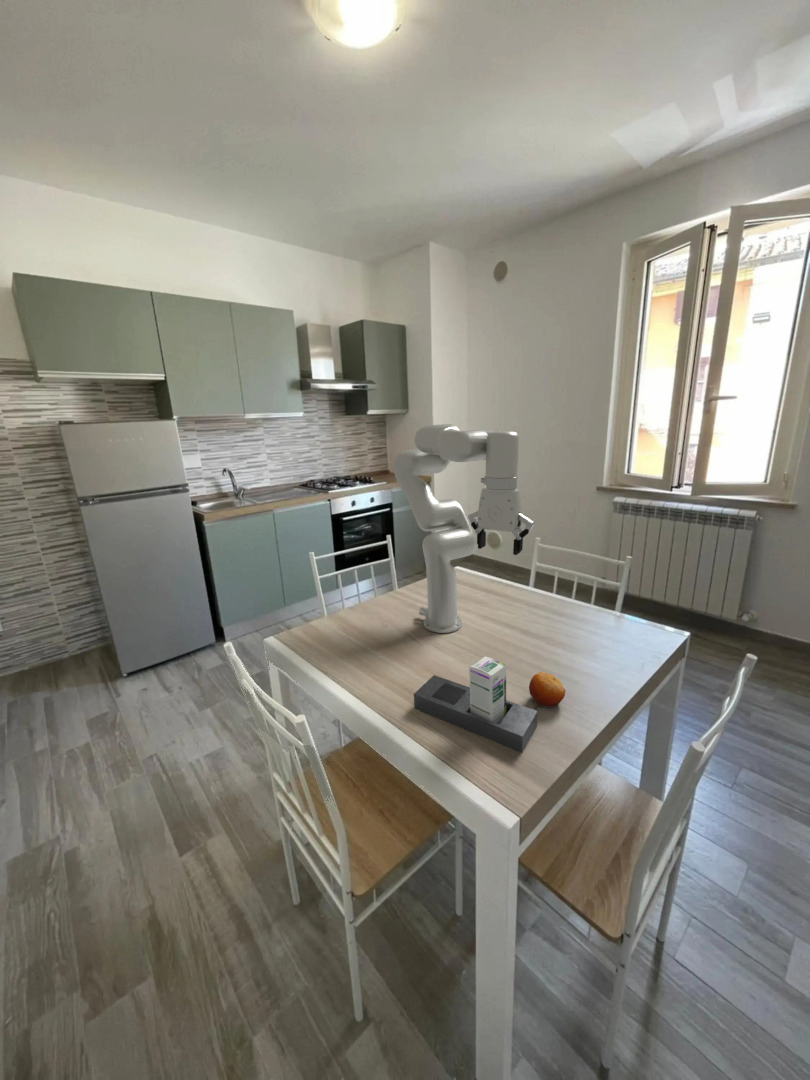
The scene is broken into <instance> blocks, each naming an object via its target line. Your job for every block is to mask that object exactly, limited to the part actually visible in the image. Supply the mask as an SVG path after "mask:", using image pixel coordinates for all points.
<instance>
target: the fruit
mask: <svg viewBox="0 0 810 1080" xmlns="http://www.w3.org/2000/svg"><path fill="white" fill-rule="evenodd" d="M528 691H529V695H530V697H531V698H532V700H533V702H534V704H535V706H534V708H535V709H536V708H537V707H538V706H541V707H546V708H551V707H552V708H553V707H557V706H558V705H559V704H561V702H562V701H563V700H564V698H565V694H566V687H564V685H563V682H561V681H560V679H559V678H557V677H555V676H554V675H552V674H550V673H547V672H542V671H539V672H537V673H536V674H534V675H533V676H532V677H531V679H530V681H529V685H528Z"/></svg>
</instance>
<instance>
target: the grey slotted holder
mask: <svg viewBox="0 0 810 1080" xmlns="http://www.w3.org/2000/svg"><path fill="white" fill-rule="evenodd" d="M413 702H414V703H413V704H414V705H413V707H414V710H416V711H419V712H421V713H424V714H427V715H429V716H431V717H434V718H436V719H438V720H441V721H443V722H446V723H449V724H450V725H452V726H455V727H458V728H461V729H463V730H465V731H467V732H469V733H472V734H475V735H477V736H479V737H482V738H485V739H487V740H489V741H491V742H494V743H496V744H499V745H502V746H503V747H505V748H508V749H510V750H513V751H516V752H518V753H521V754H523V753H524V751H525V749H526V747H527V745H528V743H529V742H530V740H531V739H532V736H533V735H534V733H535V731H536V730H537V727H538V714H539V713H538V710H535V709H532V708H530V707H527V706H524V705H521V704H519V703H516V702H513V701H510V700H507V699H506V716H505V717H504V719H503V720H502V722H501V723H500V724H499V725H498V724H496V723H493V722H491V721H488V720H486V719H483V718H480V717H478V716H475V715H473V714H470V686H467V685H463V684H461V683H458V682H455V681H452V680H449V679H446V678H444V677H441V676H437V675H435V674H433V676H431V677H430V678H429V679H428V680H427V681H426V682H425V683H424V684H423V685H422V686H421V687H419V688H418V690H416V691H415V692H414V693H413Z"/></svg>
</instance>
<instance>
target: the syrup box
mask: <svg viewBox="0 0 810 1080" xmlns="http://www.w3.org/2000/svg"><path fill="white" fill-rule="evenodd" d="M468 668H469V669H468V670H469V674H468V675H469V687H470V714H473V715H475V716H478V717H480V718H483V719H486V720H488V721H491V722H493V723H496V724H498V725H499V724H500V723H501V722H502V720H503V719H504V717H505V716H506V700H507V665H506V663H504V662H501V661H499V660H497V659H495V658H492V657H489V656H486V655H485V656H483V657H482V658H480V659H479V660H478V661H476V662H475V663H473V664H472V665H470V666H469V667H468Z"/></svg>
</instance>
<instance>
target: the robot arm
mask: <svg viewBox="0 0 810 1080" xmlns="http://www.w3.org/2000/svg"><path fill="white" fill-rule="evenodd" d="M413 441H414V445H415V446H416V448H413V449H406V450H404V451H400V452H399V453H398V454H397V455H395V457H394V459H393V460H394V461H393V472H394V478H395V480H396V482H397V484H398V486H399V488H400V489H401V490H402V491H403V494H404V495H405V496H406V498H407V501H408V504H409V506H410V509H411V510H412V513H413V517H414V518H415V521H416V523H417V525H418V527H419V529H421V530H422V531H423V532H432V533H430V534H428V535H426V536H425V537H424V539H423V541H422V550H423V551H422V553H423V556H424V557H423V558H424V561H425V567H426V568H425V569H426V570H425V571H426V587H427V588H426V589H427V590H426V592H427V595H426V596H427V607H425V606H420V607H419V612H418V615H419V616H422V617H425V618H424V620H423V627H424V628H425V629H426V630H428V631H430V632H434V633H438V634H439V633H440V634H447V633H448V634H449V633H453V632H456V631H458V630H460V629H461V628H462V626H463V621H462V619H461V618H460V616H458V599H457V598H458V594H457V592H458V590H457V587H458V585H457V583H458V581H457V579H458V578H457V572H456V570H455V568H454V566H452V565H451V562H450V561H452V560H457V559H461V558H465V557H470V556H471V555H473V554H474V553H475V552H476V550H477V549H479V550H481V549H482V548H484V547H486V545H487V532H486V531H485V530H490V531H496V532H503V533H504V532H505V533H512V534H513V536H514V537H515V538H514V539H513V549H512V551H513V552H512V554H513V556H514V555H515V556H517V555H519V554H520V553H521V552H522V551H523V543H524V537H526V536H528V534H529V533H531V531H532V529H533V527H534V526H535V521H534V520H531V519H530V518H529V517H527V516H525V515H524V514H523V511H522V509H523V508H522V500H521V493H520V492H521V491H520V489H519V488H517V487H518V469H519V468H518V466H519V447H520V445H519V444H520V437H519V434H518V433H517V432H515V431H513V430H512V431H511V430H510V431H509V430H505V431H503V430H502V431H500V430H496V429H479V430H477V429H474V430H472V429H471V430H462V431H461V430H460V429H459V428H458V426H457V425H455V424H451V423H450V424H448V423H446V424H445V423H444V424H428V425H424V426H422V427H420V428H419V429H418V430H417V431H416V432H415V434H414V440H413ZM477 461H485V476H484V477H481V478H480V483H481V484H484V487H483V488H482V489H481V492H480V496H479V500H478V510H477V511H476V512H473V513H471V514H469V515H467V514H466V512H465V510H464V508H463V506H462V505H461V504H460V503H459V502H458V501H457V500H456V499H454V498H453V499H451V498H447V499H441V500H440V499H439V500H438V499H437V498H436V497H435V495H434V493H433V492H434V491H433V489H432V488H431V487H430V485H429V484H428V483H427V482H426V481H425V480H423V479H422V478H421V477H419V476H425V475H432V474H439V473H442V472H443V471H444V470H445V469H447V467H448V465H450V463H451V462H454V463H467V462H477ZM522 523H523V524H525V528H524V529H522V528H521V526H522ZM473 530H474V531H473ZM474 532H475V533H476V536H475V533H474Z"/></svg>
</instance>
